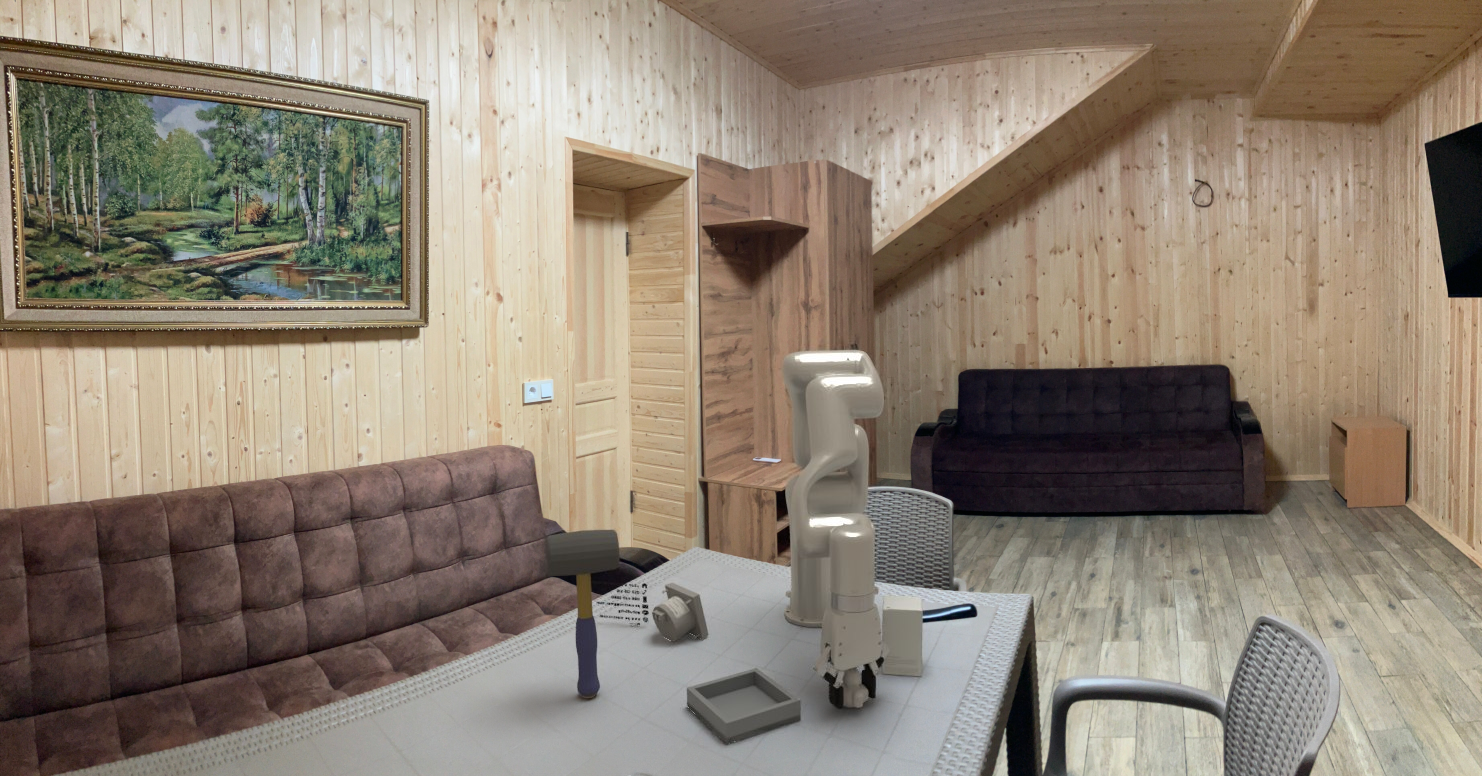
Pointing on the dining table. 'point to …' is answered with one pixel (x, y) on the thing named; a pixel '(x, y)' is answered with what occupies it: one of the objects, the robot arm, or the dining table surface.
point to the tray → (743, 705)
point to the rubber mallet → (584, 589)
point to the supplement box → (902, 635)
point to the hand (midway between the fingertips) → (852, 699)
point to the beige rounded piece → (853, 688)
